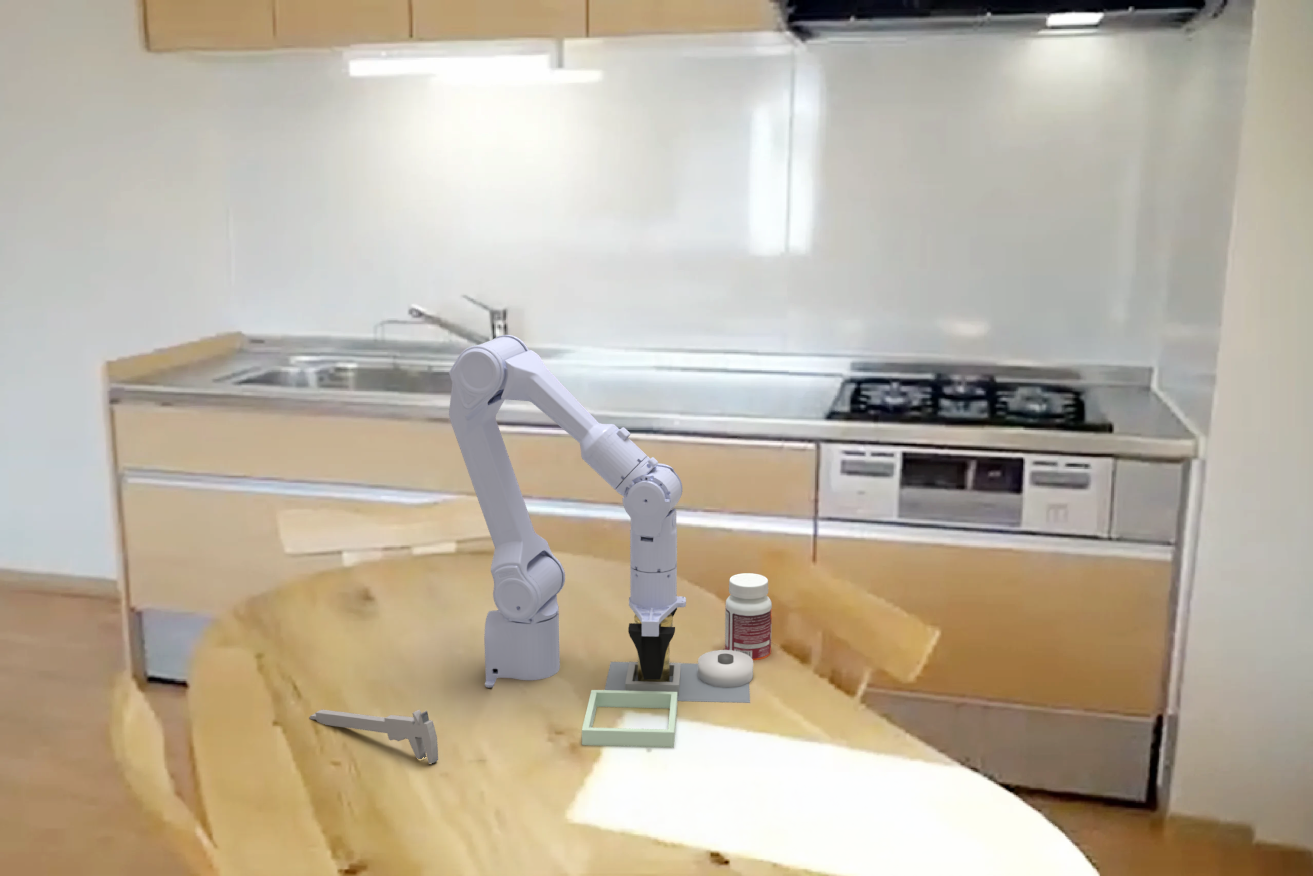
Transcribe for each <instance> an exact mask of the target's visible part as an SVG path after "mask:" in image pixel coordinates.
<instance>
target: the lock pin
mask: <svg viewBox="0 0 1313 876" xmlns="http://www.w3.org/2000/svg"><path fill="white" fill-rule="evenodd" d="M633 623H641V621H640V620H639V618H638V617H637V616H636V614H634V617H633ZM641 624H642V623H641ZM660 624H661V627H674V616H672V614H669V615H668V616H667V617H666V618H665V619H664V620H663V621H661V623H660ZM670 644H671V643H669V645H668V648H667V651H666V655H665V660H664V667H663V672H662V676H661V679H660V680H653V679H644V678H643V675H642V671H641V666H640V661H639V656H638V655H637V662H638V681H642V682H670V663H671V662H670V659H671V658H670V657H671V656H670V654H671V653H670V651H671V650H670V649H671V648H670V647H671V646H670Z"/></svg>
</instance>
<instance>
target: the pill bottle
mask: <svg viewBox="0 0 1313 876" xmlns="http://www.w3.org/2000/svg"><path fill="white" fill-rule="evenodd" d="M728 592H729V594H730V595H729V596H728V597H727V598H726V599H725V610H724V611H725V612H724V614H725V618H724V621H725V622H724V650H733V651H738V652H742V653H745V654H747V655H748V656H750V657H751V658H752V660H753V661H759V660H760V661H761V660H763V659H766V658H767V657H769V656H770V655H771V654H772V627H773V626H772V624H773V623H772V618H773V616H772V615H773V605H772V604H773V603H772V600H771V599H770V597H769V596H768V593H769V579H768V578H767V577H766V576H765V575H762V574H758V573H752V572H751V573H750V572H747V573H738V574H734V575H732V576H731V577H730V578H729V584H728Z"/></svg>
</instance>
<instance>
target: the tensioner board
mask: <svg viewBox="0 0 1313 876" xmlns="http://www.w3.org/2000/svg"><path fill="white" fill-rule="evenodd" d="M753 679H754V660H752V658H751V657H750V656H748V655H747V654H745V653H742V652H738V651H733V650H725V649H719V650H711V651H707V652H705V653H703V654H701V655H700V656H699V657H698V659H697V663H695V662H694V663H689V662H688V663H687V662H686V663H684V662H670V682H642V681H638V661H610V663H609V668H608V673H607V676H606V682H605V686H604V690H620V691H662V692H677V702H695V703H696V702H697V703H698V702H700V703H702V702H704V703H737V704H738V703H745V704H751V696H750V695H751V693H750V692H751V691H750V682H751V681H752V680H753Z"/></svg>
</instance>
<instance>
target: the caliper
mask: <svg viewBox="0 0 1313 876" xmlns="http://www.w3.org/2000/svg"><path fill="white" fill-rule="evenodd" d="M308 718H309V720H316V722H317V723H319V724H321V725H324V724H325V726H332V727H340V728H346V729H354V730H361V731H368V732H376V733H382V734H387V738H388V741H394V740H395V741H397V742H401V741H403V740H408V742H409V744H410V747H411V749H412V751H413V753H414V756H415V758H418V759H422V758H423V757H424V758H425V757H427V758H426V759H427V761H428V764H429V763H431V765H433V764H435V763H436V762H438V761H439V749H438V744H439V743H438V736H437V733H436V732H437V731H436V728H435V724H434V720H432V719H430V718H429V714H428V710H425V711H423V712H422V711H421V709H418V710H415V711H414V712H412V716H405V715H395V714H390V715H388V716H386V717H385V716H377V715H376V716H374V715H370V714H369V715H368V714H359V713H354V712H353V713H352V712H345V711H336V710H328V709H320V710H318V711H316V712H315V713H313V714H311V715H310V716H309V717H308ZM432 763H433V764H432Z"/></svg>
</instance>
